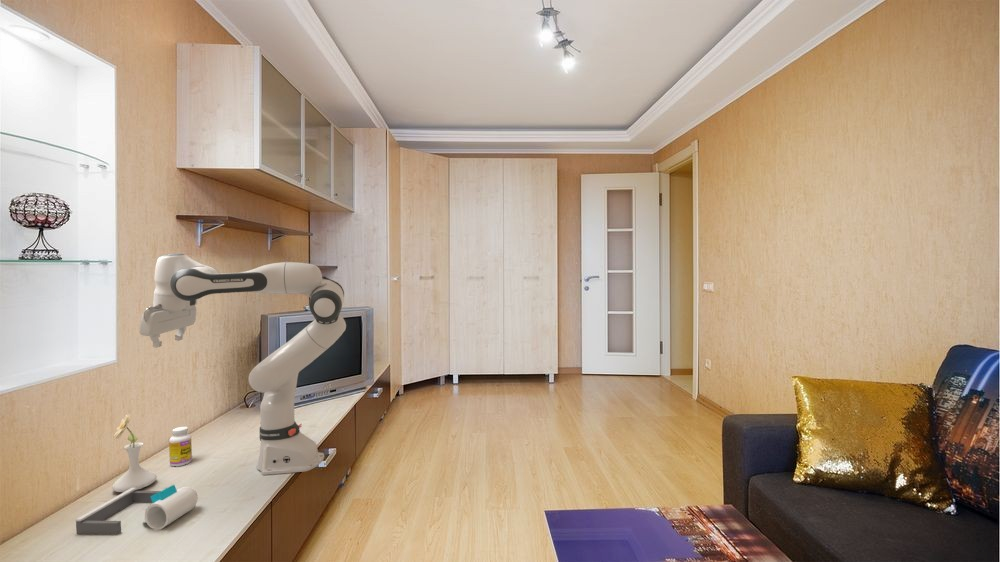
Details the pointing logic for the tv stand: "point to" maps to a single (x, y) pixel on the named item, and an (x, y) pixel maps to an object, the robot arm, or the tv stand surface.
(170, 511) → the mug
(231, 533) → the tv stand surface
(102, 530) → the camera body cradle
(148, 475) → the flower in vase
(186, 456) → the supplement bottle
